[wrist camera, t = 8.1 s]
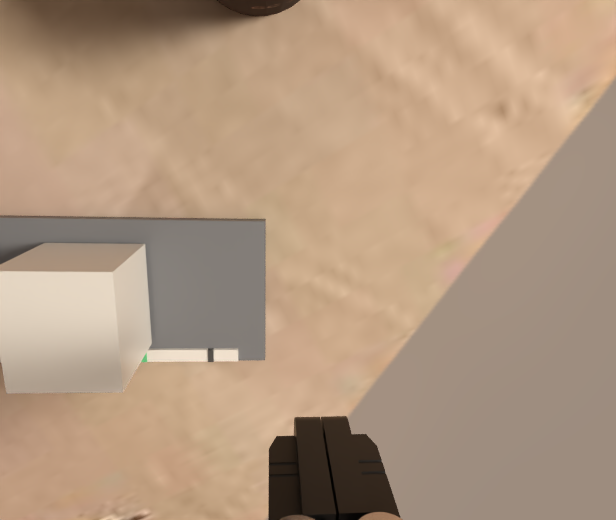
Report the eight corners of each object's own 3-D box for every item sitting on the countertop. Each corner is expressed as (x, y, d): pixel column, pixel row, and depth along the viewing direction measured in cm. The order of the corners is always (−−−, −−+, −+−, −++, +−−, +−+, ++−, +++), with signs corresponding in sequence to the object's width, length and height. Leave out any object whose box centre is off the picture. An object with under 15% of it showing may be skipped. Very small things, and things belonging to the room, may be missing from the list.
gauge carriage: (21, 362, 26) (-38, 416, 21) (3, 242, 24) (-65, 270, 19) (153, 361, 26) (125, 413, 21) (145, 243, 24) (112, 271, 20)
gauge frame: (-42, 356, 26) (-124, 415, 21) (-68, 214, 24) (-167, 239, 19) (265, 355, 28) (262, 410, 22) (265, 219, 25) (262, 243, 20)
